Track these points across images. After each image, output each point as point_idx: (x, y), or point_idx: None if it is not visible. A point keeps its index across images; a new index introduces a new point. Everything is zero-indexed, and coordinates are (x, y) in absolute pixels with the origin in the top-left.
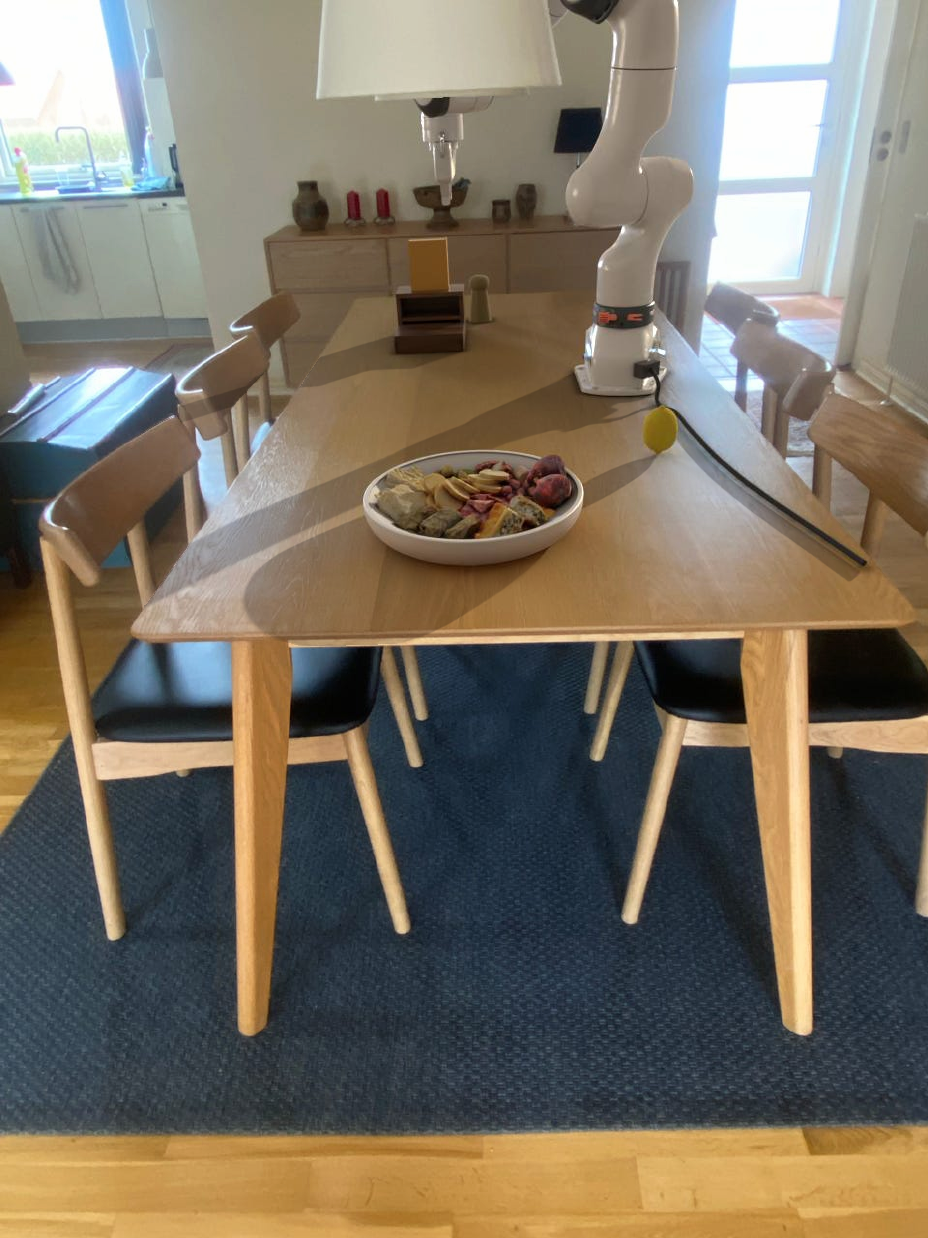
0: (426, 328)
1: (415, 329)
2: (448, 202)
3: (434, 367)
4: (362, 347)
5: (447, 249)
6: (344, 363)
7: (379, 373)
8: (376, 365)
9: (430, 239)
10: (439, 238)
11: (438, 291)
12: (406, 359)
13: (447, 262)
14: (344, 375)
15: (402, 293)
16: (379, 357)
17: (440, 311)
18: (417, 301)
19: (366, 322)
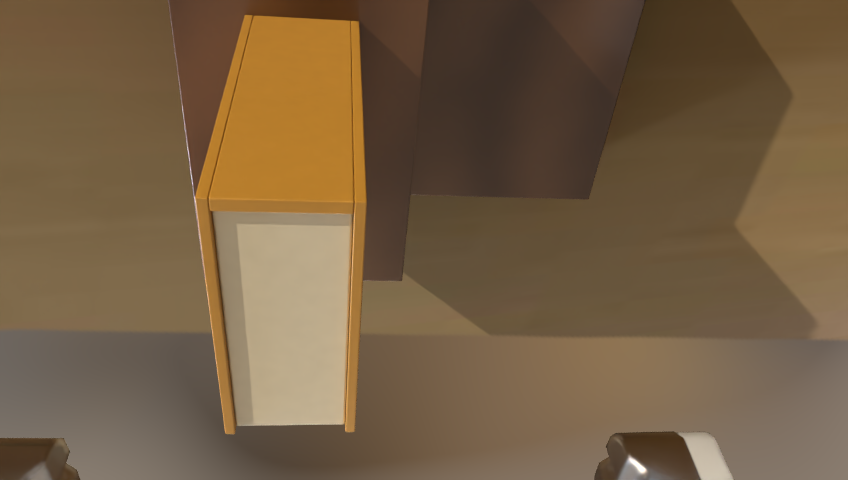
0: (504, 77)
1: (505, 124)
2: (716, 461)
3: (829, 14)
4: (443, 266)
5: (216, 135)
6: (622, 294)
7: (790, 193)
8: (692, 208)
9: (274, 308)
10: (232, 248)
11: (399, 82)
12: (664, 119)
13: (331, 97)
14: (753, 280)
15: (397, 254)
16: (596, 207)
17: None
18: None
19: (53, 287)
